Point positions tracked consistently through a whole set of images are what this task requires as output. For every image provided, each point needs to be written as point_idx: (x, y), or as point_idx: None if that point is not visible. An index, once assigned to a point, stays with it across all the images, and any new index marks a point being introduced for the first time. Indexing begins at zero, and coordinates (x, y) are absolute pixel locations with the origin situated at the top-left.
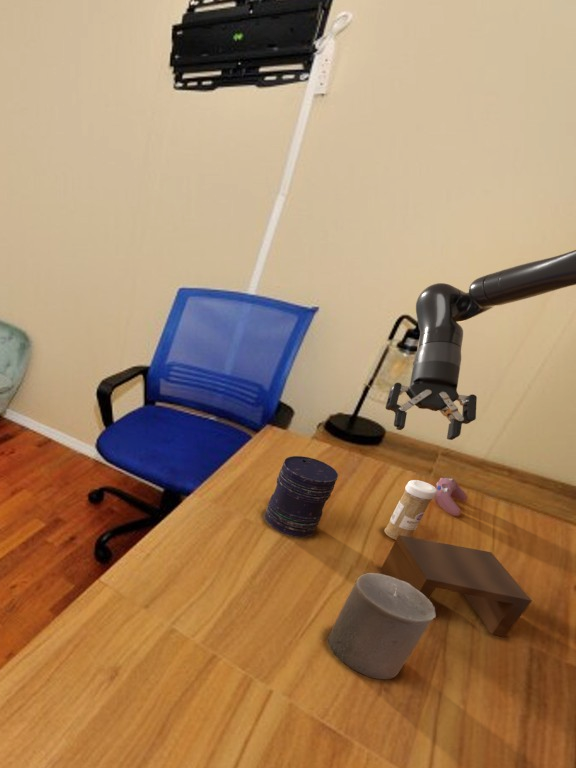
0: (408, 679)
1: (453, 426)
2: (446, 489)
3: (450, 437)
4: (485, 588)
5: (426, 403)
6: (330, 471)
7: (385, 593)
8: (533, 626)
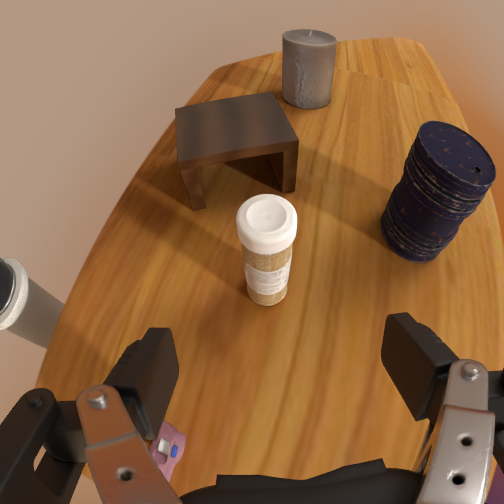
0: (276, 92)
1: (149, 362)
2: (161, 443)
3: (172, 338)
4: (215, 102)
5: (358, 482)
6: (436, 153)
7: (316, 35)
8: (150, 183)
